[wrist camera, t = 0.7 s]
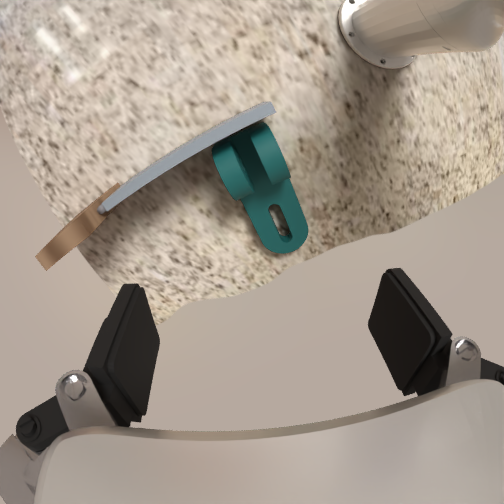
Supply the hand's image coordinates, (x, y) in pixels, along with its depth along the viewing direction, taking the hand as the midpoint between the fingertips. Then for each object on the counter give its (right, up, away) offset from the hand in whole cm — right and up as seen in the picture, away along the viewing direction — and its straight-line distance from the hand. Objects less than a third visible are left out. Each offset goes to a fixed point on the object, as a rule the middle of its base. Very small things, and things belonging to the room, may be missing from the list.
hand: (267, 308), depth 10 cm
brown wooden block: (-23, +9, +26) cm, 36 cm away
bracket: (+1, +10, +27) cm, 29 cm away
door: (-9, +15, +22) cm, 29 cm away
